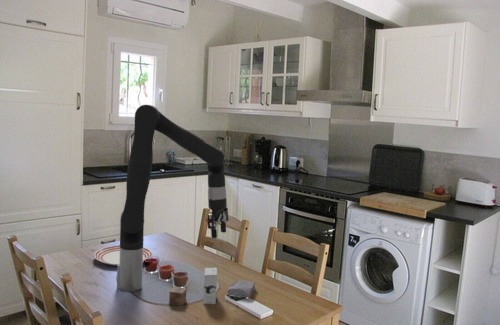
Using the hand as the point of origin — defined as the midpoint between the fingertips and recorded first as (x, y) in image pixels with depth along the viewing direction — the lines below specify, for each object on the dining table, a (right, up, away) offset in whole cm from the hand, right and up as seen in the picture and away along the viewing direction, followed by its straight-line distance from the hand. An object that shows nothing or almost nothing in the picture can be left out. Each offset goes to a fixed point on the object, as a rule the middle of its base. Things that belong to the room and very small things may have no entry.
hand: (219, 235), depth 185 cm
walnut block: (-15, -24, -13) cm, 31 cm away
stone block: (+9, -24, -1) cm, 26 cm away
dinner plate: (-48, -17, +30) cm, 60 cm away
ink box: (-3, -24, -9) cm, 26 cm away
